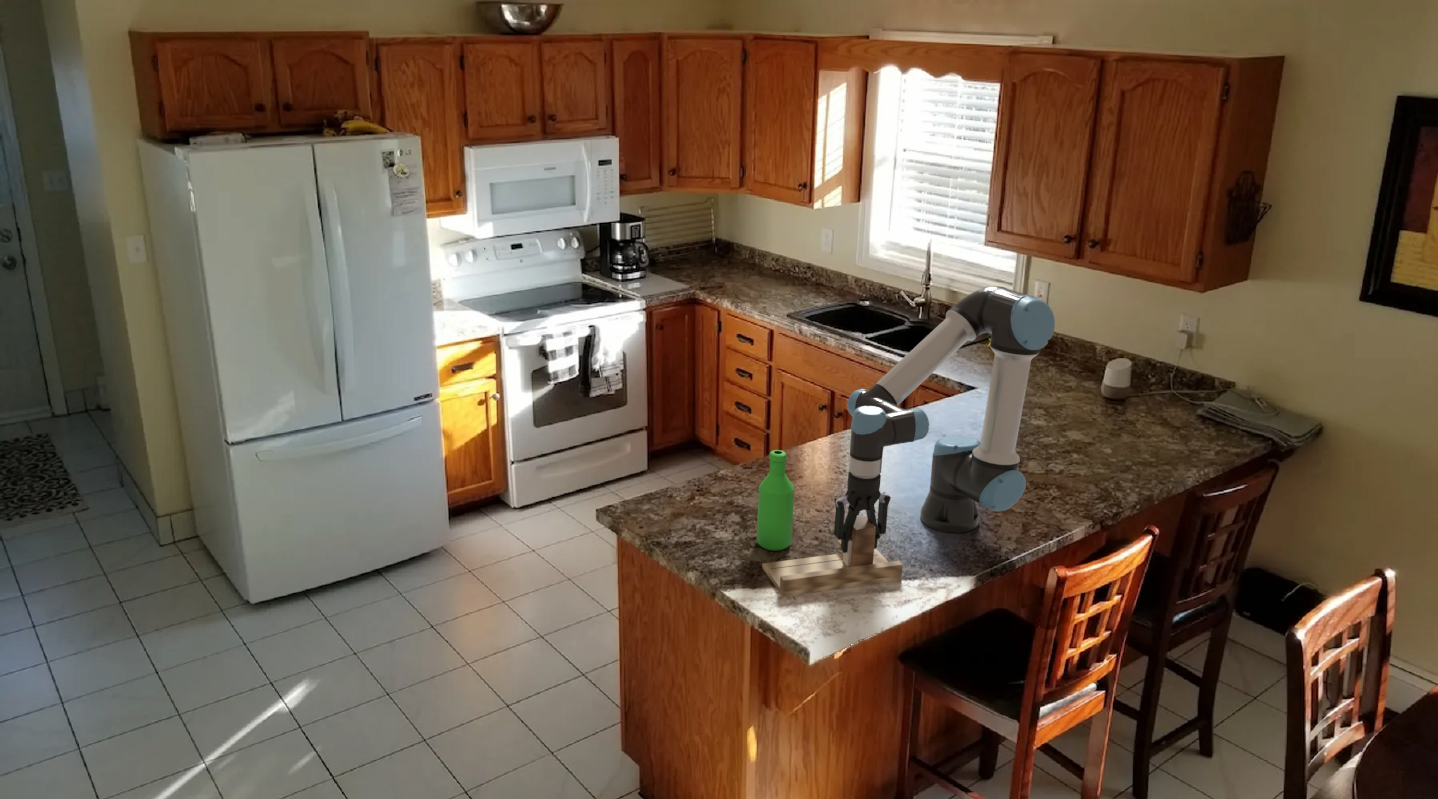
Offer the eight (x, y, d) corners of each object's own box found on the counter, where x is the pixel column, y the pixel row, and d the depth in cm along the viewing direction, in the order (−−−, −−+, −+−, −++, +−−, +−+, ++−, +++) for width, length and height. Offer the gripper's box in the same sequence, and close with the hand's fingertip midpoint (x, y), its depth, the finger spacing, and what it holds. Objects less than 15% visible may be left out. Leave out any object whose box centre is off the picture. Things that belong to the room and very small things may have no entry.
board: (875, 553, 268) (877, 538, 266) (901, 580, 255) (902, 564, 254) (762, 567, 259) (762, 552, 258) (782, 596, 246) (783, 580, 245)
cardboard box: (848, 546, 268) (851, 502, 263) (872, 573, 255) (875, 527, 251) (829, 549, 266) (832, 504, 262) (852, 576, 254) (856, 529, 249)
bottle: (751, 538, 273) (754, 447, 265) (782, 534, 276) (787, 443, 268) (764, 554, 266) (768, 461, 257) (796, 549, 268) (802, 457, 260)
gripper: (892, 462, 254) (885, 550, 262) (822, 469, 249) (816, 559, 257) (907, 474, 248) (899, 564, 256) (834, 482, 243) (828, 574, 250)
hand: (857, 561), depth 256 cm, fingers closed on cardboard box, 5 cm apart
